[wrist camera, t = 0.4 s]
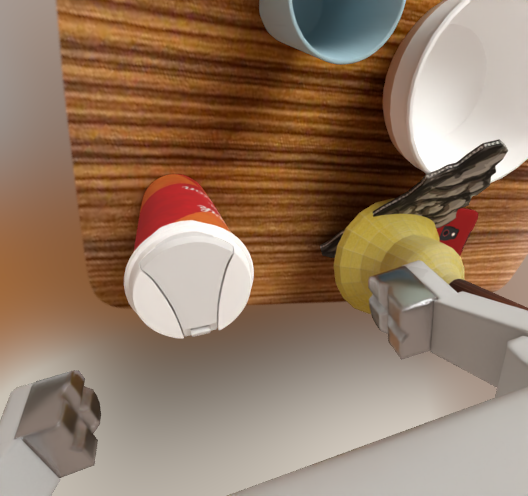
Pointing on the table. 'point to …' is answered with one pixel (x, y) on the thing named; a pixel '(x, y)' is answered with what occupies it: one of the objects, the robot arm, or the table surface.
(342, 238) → the handbell
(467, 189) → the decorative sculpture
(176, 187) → the coffee cup
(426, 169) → the bowl
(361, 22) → the cup
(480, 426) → the robot arm
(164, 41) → the table surface
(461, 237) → the cell phone
